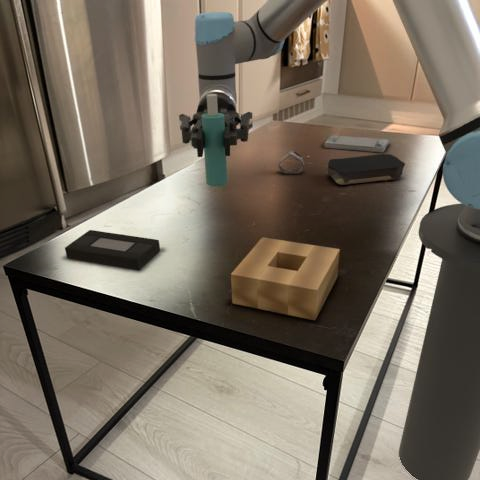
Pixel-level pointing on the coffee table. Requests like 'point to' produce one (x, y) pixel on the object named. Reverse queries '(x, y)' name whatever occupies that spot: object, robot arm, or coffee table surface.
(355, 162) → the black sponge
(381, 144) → the phone
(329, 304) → the coffee table surface
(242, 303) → the holder
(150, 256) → the vhs tape
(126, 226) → the coffee table surface
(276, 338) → the coffee table surface
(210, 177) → the teal lotion tube
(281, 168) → the wristwatch
